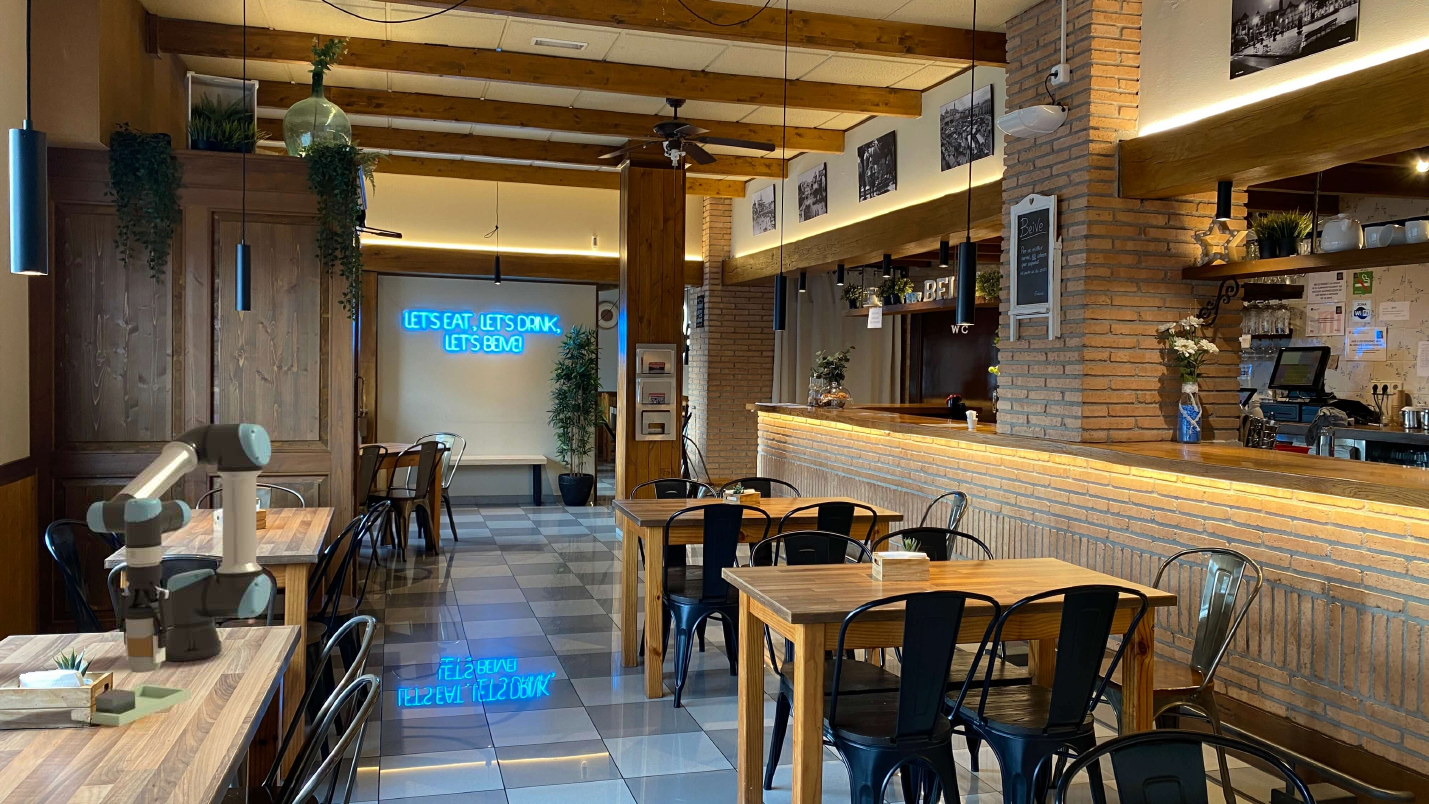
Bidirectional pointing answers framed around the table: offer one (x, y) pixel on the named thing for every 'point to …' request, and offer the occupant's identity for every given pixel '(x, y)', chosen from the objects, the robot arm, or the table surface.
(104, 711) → the cube
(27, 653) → the table surface
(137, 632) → the coffee cup
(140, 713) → the green tray
